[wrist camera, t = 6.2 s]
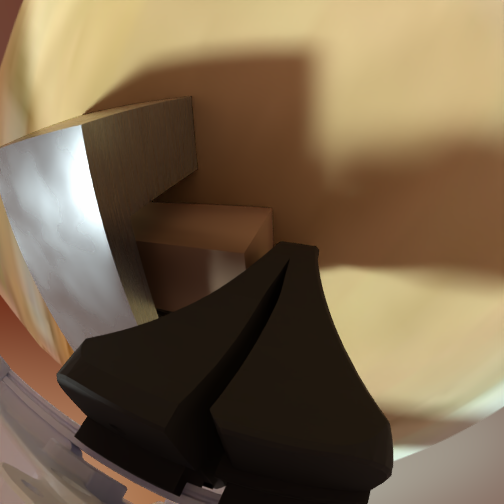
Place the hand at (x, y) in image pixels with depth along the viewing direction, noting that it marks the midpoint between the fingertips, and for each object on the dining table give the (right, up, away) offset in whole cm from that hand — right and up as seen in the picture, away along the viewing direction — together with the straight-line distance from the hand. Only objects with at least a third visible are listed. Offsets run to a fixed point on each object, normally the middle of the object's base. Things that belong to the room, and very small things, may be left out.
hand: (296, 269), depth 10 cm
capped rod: (-7, +2, +4) cm, 8 cm away
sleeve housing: (-6, +2, +3) cm, 7 cm away
